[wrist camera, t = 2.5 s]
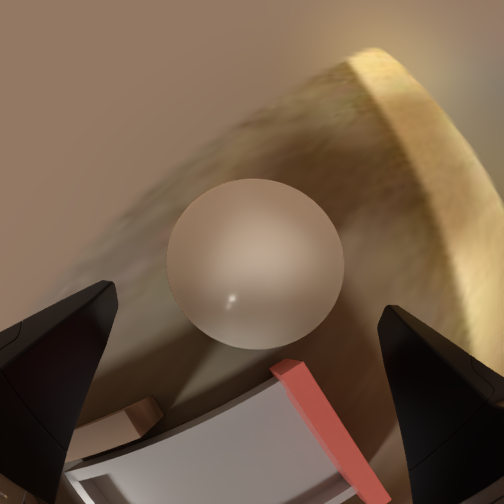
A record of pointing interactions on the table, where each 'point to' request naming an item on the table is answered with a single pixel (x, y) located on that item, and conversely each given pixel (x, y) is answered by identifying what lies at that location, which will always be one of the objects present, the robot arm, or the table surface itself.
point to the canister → (255, 264)
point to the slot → (111, 431)
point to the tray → (241, 454)
